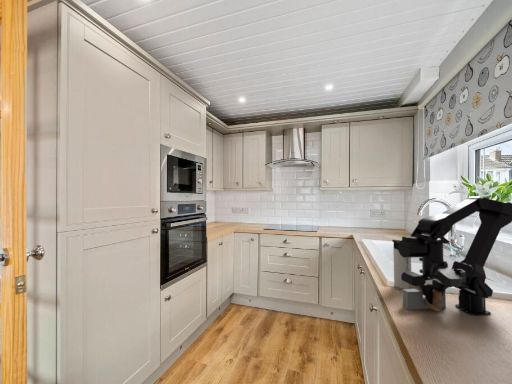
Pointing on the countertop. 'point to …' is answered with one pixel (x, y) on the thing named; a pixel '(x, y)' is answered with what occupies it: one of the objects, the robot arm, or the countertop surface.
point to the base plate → (417, 299)
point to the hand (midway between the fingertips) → (433, 303)
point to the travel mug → (400, 267)
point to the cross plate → (436, 298)
